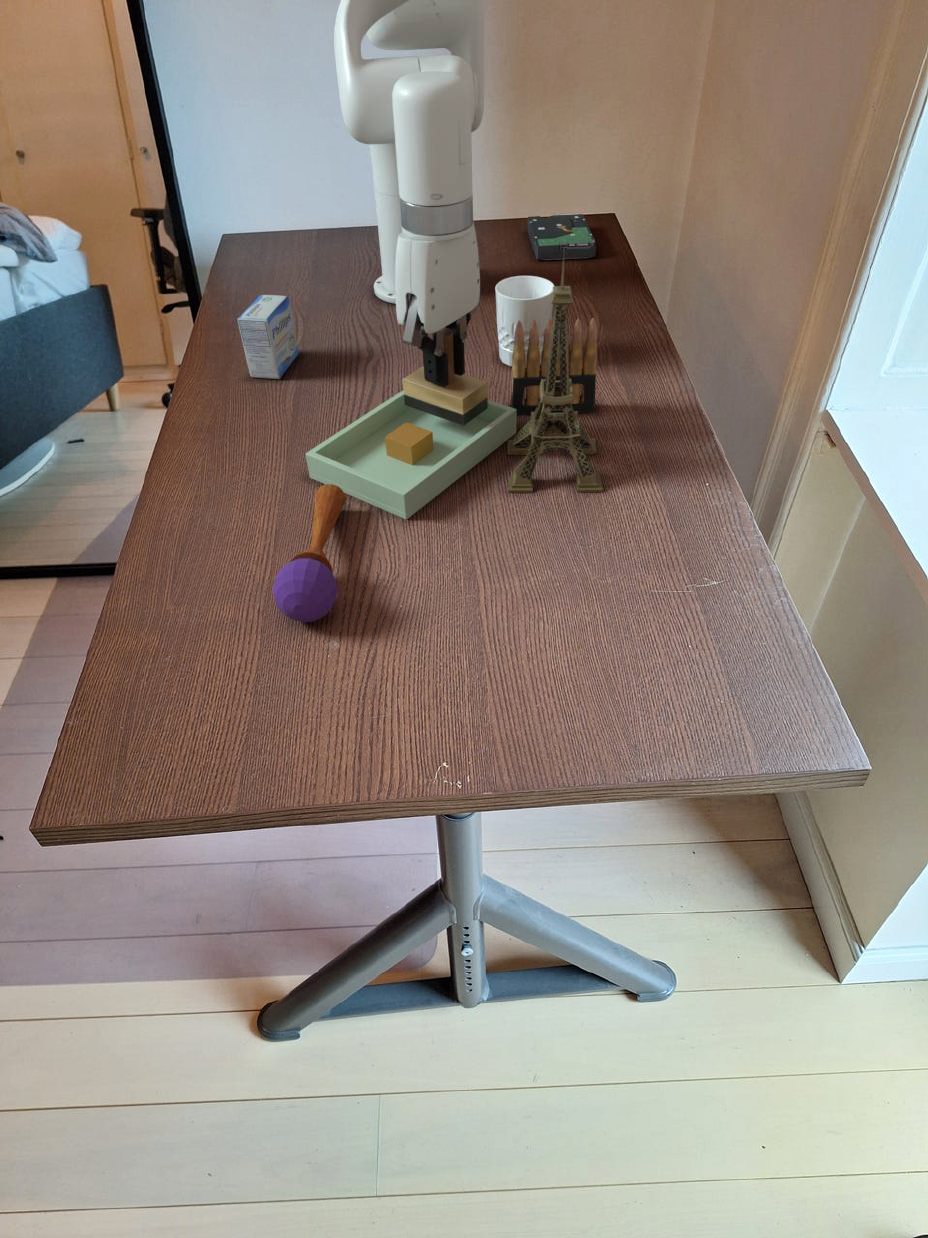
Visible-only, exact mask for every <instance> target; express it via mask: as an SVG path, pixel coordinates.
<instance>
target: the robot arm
mask: <svg viewBox="0 0 928 1238" xmlns="http://www.w3.org/2000/svg"><path fill="white" fill-rule="evenodd" d="M484 10H485V9H484V0H340V2H339V5H338V9H337V12H336V16H335V23H334V31H333V49H334V60H335V69H336V70H335V71H336V78H337V88H338V97H339V104H340V105H339V106H340V111H341V115H342V120H343V123H344V126H345V128H346V130H347V133H348V134H349V135H350V136H351V137H352V138H353V139H354V140H355V141H356V142H358V143H361V144H364V145H368V149H369V154H370V155H369V156H370V163H371V170H372V181H373V189H374V201H375V209H376V211H375V213H376V221H377V233H378V243H379V244H378V245H379V254H380V265H381V276H379V277H378V278H377V279H376V280H375V281H374V282H373V291H374V294H375V296H376V297H377V298H378V299H380V300H381V301H384V302H386V303H389V304H393V305H395V311H396V312H395V313H396V320H397V323H398V325H399V326H402V327H404V332H403V336H402V343H403V344H405V345H408V346H411V347H416V348H418V351H421V352H422V360H423V361H422V362H423V366H424V378H425V380H426V381H428V382H431V383H434V384H437V385H440V386H443V387H445V386H447V385H448V384H449V376H448V356H447V353H443V351H444V338H443V328H449V329H451V330H452V331H453V346H454V371H455V374H456V375H459V376H462V375H463V374H464V375H466V360H465V358H466V357H465V341H467V338H468V326H469V324H470V321H471V319H472V317H473V314H474V313H475V311H477V310H478V307H479V306H480V305H479V304H480V296H481V271H480V256H479V247H478V239H477V233H476V227H475V222H474V194H473V161H472V160H473V155H472V154H473V149H472V146H473V145H472V144H473V143H472V133H474V132H475V131H477V130H478V129H479V128H480V126H481V125H482V121H483V117H484V112H485V111H484V110H485V15H484V14H485V11H484ZM365 35H366V37H367V38H368V40H369V42H370V43H371V45H373V46H374V47H376V48H378V49H380V50H383V51H414V50H415V51H417V50H432V49H446V50H448V51H449V52H450V54H436V55H420V56H419V55H411V56H410V55H409V56H393V57H378V58H368V59H367V58H363V56H362V41H363V39H364V37H365ZM432 334H433V340H432V337H430V336H429V335H432Z"/></svg>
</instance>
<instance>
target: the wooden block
mask: <svg viewBox="0 0 928 1238" xmlns="http://www.w3.org/2000/svg"><path fill="white" fill-rule="evenodd" d="M385 443H386V452H387V455H388V456H390V457H393V458H395V459H398V460H400V461H403V462H405V463H408V464H410V465H414V464H415V463H417V462H418V461H420V460H421V459H422V458H424V457H425V456H426V455H428V454H429V453H430V452H432V451H433V450H434V448H433V432H431V431H428V430H426V429H423V428H420V427H418V426H415V425H412V424H410V423H407V422H406V423H405V424H403V425H402V426H400V427H399V428H397V429H396V430H394V431H393V432H391V433H390V434H389V435H387V436H386V437H385Z"/></svg>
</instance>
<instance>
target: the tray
mask: <svg viewBox="0 0 928 1238" xmlns="http://www.w3.org/2000/svg"><path fill="white" fill-rule="evenodd" d="M516 411H517V410H516V409H514V408H511V407H510V406H508V405H505V404H502V403H500V402H496V401H493V400H491V399H488V408H487V409H486V410H485V411H483V412H482V413H481V414H479V415H478V416H477V417H475V418H474V419H472V420H471V421H470V422H468V423H467V424H466V425H464V426H462V425H460V424H457V423H454V422H451V421H448V420H445V419H443V418H440V417H437V416H434V415H431V414H429V413H426V412H423V411H420V410H417V409H414V408H412V407H409V406H406V405H405V402H404V392H403V389H402V390H401V391H399V392H398V393H397V394H395V395H393V396H392V397H390V398H388V399H387V400H386V401H384V402H382V403H381V404H379V405H378V406H376V407H375V408H373V409H372V410H370V411H369V412H367V413H365V414H364V415H362V416H360V418H358V419H356V420H355V421H353V422H352V423H349V424H348V425H347V426H346V427H344V428H343V429H341V430H339V431H338V432H336V433H335V434H333V435H332V436H330V437H329V438H327V439H326V440H324V441H322V442H321V443H319V444H318V445H316V446H315V447H313V448H311V449H309V451H307V452H305V459H306V464H307V470H308V476H309V478H310V479H312V480H314V481H317V482H318V483H321V484H323V485H325V484H333V485H336V486H338V487H339V488H341V489H342V490H343V492H344V493H345V495H349V496H351V497H353V498H355V499H357V500H360V501H362V502H364V503H367V504H370V505H371V506H374V507H376V508H379V509H381V510H383V511H385V512H387V513H390V514H392V515H394V516H397V517H399V518H401V519H403V520H408V519H410V518H411V517H412V516H413V515H415V514H416V513H417V512H418V511H419V510H421V509H422V508H423V507H425V506H426V505H427V504H428V503H430V502H431V501H432V500H433V499H435V498H437V496H439V494H441V493H442V492H444V491H445V490H446V489H447V488H449V487H450V486H451V485H452V484H454V483H455V482H456V481H457V480H459V479H460V478H461V477H463V476H464V475H465V474H466V473H467V472H469V471H470V470H471V469H473V468H474V467H475V466H477V464H479V463H480V462H482V461H483V460H484V459H485V458H486V457H488V456H489V455H490V454H491V453H493V452H494V451H496V450H497V449H499V447H500V446H502V445H503V444H504V443H505V442H508V440H510V439H511V438H513V436H515V435H516V434H517V415H516ZM406 422H407V423H410V424H412V425H415V426H418V427H420V428H423V429H426V430H428V431H431V432H433V448H434V450H433V451H432V452H430V453H429V454H428V455H426V456H425V457H424V458H422V459H421V460H420V461H418V462H417V463H415V464H414V465H410V464H408V463H405V462H403V461H400V460H398V459H395V458H393V457H390V456H388V455H387V452H386V443H385V437H386V436H387V435H389V434H390V433H391V432H393V431H394V430H396V429H397V428H399V427H400V426H402V425H403V424H405V423H406Z"/></svg>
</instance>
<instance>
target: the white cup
mask: <svg viewBox="0 0 928 1238" xmlns="http://www.w3.org/2000/svg"><path fill="white" fill-rule="evenodd" d="M553 286H555V284H554V283H553V282H552V281H551V280H549V279H547V278H544V277H542V276H541V277H540V276H537V275H516V276H515V275H514V276H510V277H506V278H503V279H502V280H500V281H498V283H496V285H495V287H494V290H495V310H496V312H495V313H496V327H497V339H498V355H499V360H500V361H501V363H503V364H504V365H507V366H508V367H510V368H512V354H513V349H514V336H515V329H516V325H517V323H518V321H520V322H521V324H522V327H523V332H524V350H525V369H526V365H527V352H528V344H529V334H530V328H531V325H532V322H533V320H535V321H536V323H537V327H538V333H539V352H540V366H541V354H542V350H543V342H544V332H545V327H546V324H547V322H548V320H549V319H550V320H551V322H552V323H553V315H554V304H552V303H551V295H550V294H551V293H552V292H553Z"/></svg>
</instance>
